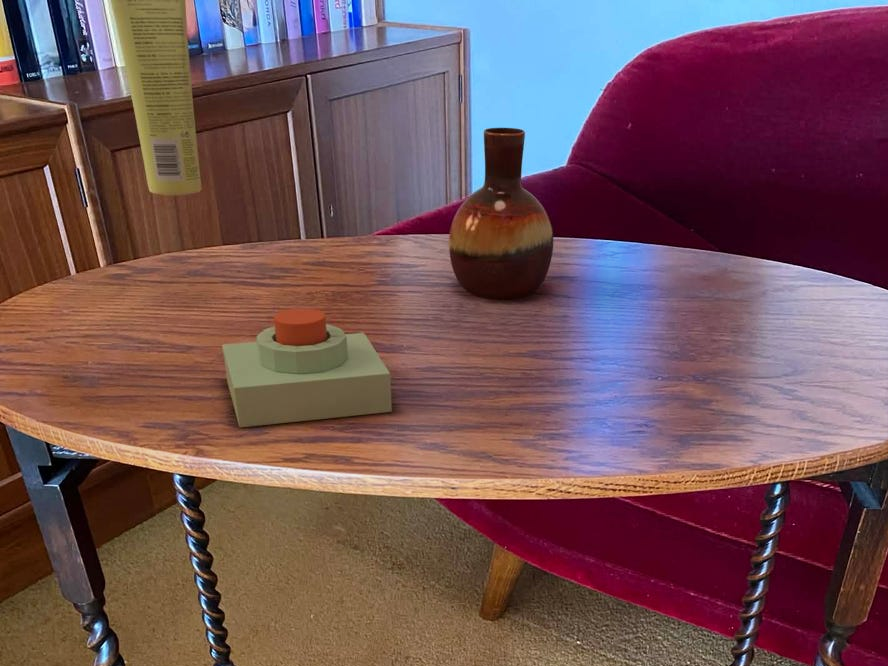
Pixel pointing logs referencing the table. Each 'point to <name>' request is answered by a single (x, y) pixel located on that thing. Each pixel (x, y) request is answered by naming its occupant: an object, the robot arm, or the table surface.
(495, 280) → the vase
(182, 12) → the tube
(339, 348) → the push button base
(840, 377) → the table surface
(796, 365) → the table surface
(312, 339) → the red push button
